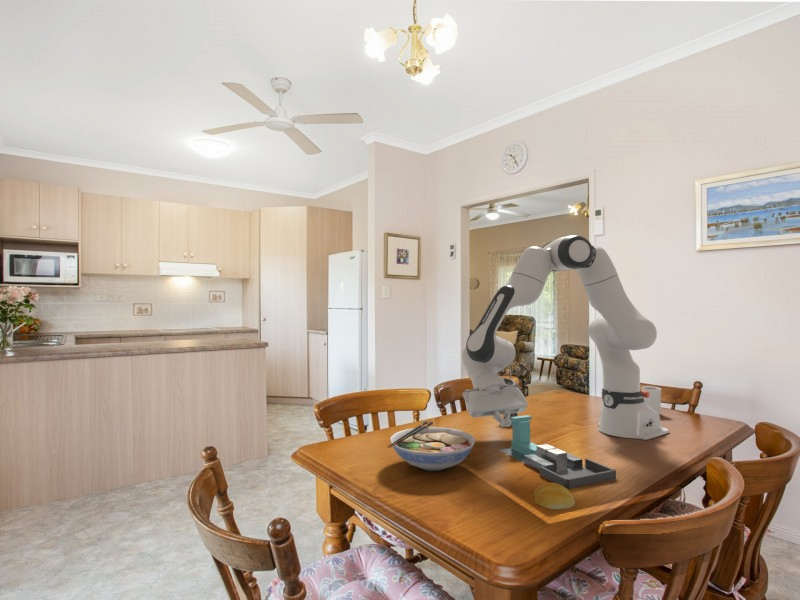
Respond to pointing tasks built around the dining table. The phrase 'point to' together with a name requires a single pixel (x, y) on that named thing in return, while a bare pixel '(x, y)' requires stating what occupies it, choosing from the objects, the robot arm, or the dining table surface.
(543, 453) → the beige cube
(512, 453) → the slot board
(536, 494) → the bread roll
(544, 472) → the tray
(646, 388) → the drinking glass
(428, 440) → the ramen bowl
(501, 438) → the dining table surface
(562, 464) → the chip
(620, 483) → the dining table surface
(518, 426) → the rake tool
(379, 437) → the dining table surface
